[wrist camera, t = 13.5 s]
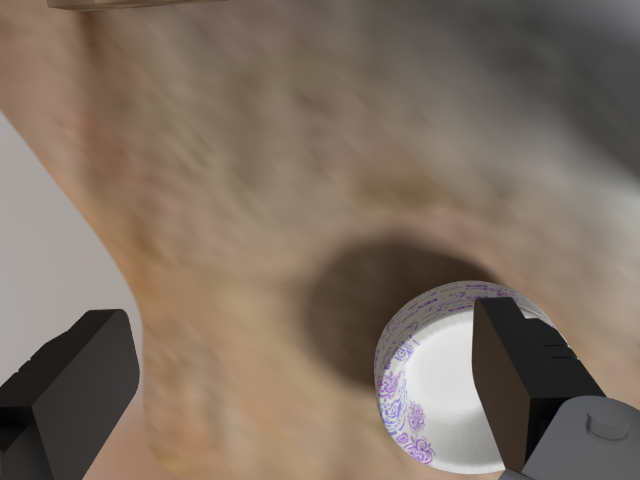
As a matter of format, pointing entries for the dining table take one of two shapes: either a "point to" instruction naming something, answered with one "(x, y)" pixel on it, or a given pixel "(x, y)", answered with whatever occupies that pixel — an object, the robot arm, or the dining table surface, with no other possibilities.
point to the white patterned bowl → (439, 378)
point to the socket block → (114, 4)
